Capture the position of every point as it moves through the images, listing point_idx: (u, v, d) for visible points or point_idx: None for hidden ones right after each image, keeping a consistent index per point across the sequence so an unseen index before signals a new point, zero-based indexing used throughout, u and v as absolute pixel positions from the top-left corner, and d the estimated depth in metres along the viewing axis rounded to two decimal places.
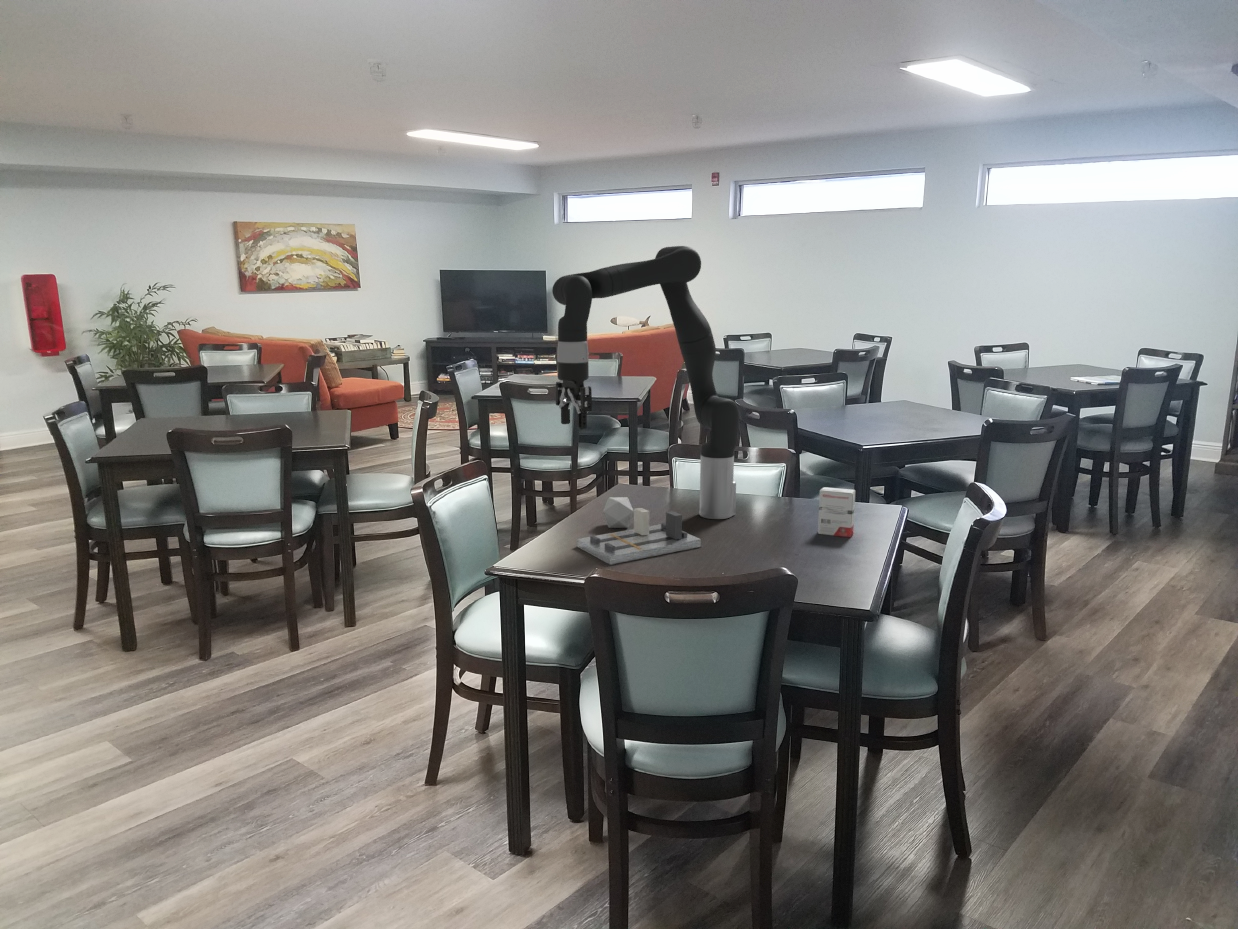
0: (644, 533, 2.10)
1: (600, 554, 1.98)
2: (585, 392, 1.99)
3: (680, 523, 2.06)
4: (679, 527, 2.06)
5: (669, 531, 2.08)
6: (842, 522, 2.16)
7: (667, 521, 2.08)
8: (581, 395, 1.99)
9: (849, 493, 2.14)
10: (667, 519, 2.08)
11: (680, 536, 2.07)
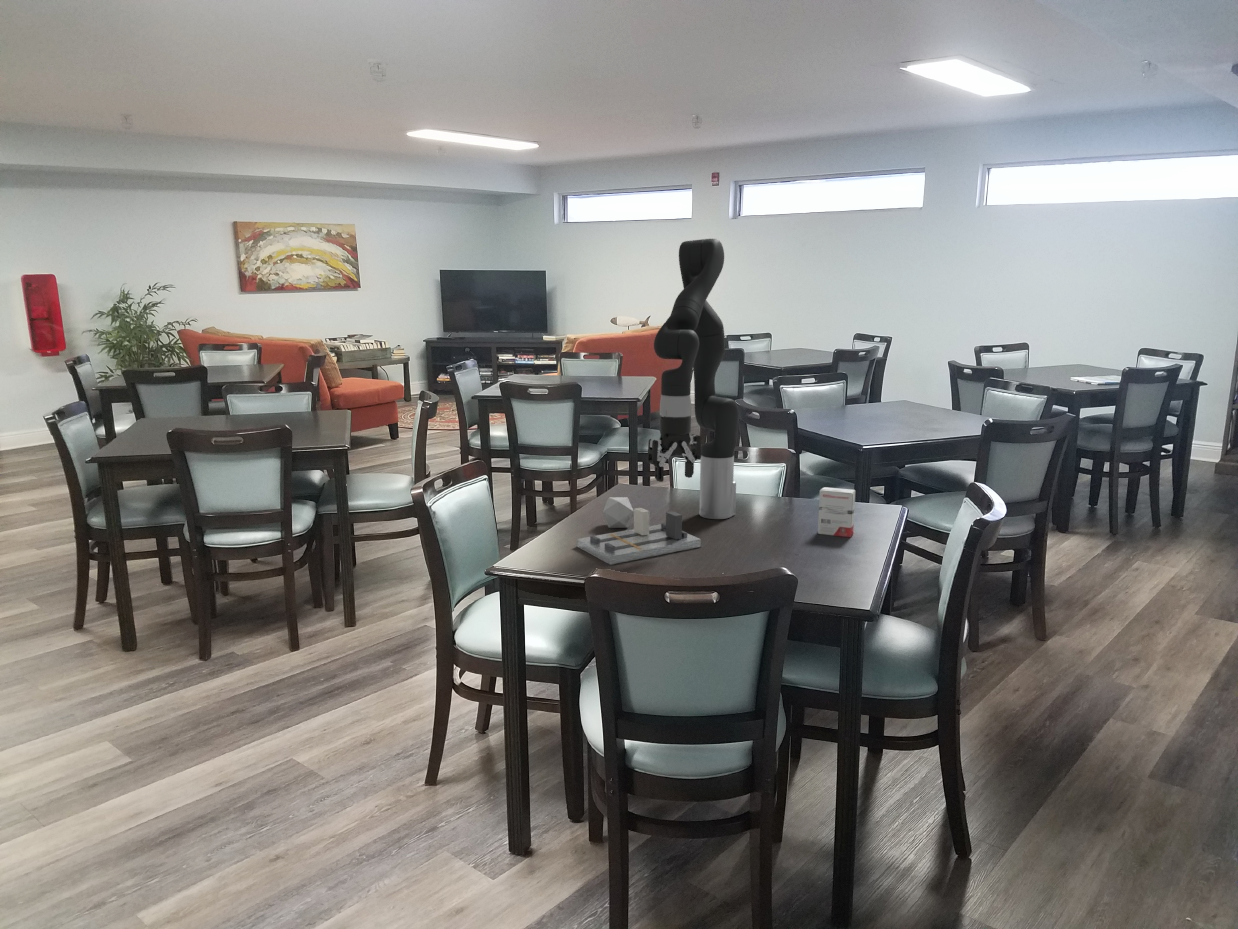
0: (644, 533, 2.10)
1: (600, 554, 1.98)
2: None
3: (680, 523, 2.06)
4: (679, 527, 2.06)
5: (669, 531, 2.08)
6: (842, 522, 2.16)
7: (667, 521, 2.08)
8: (698, 443, 2.06)
9: (849, 493, 2.14)
10: (667, 519, 2.08)
11: (680, 536, 2.07)
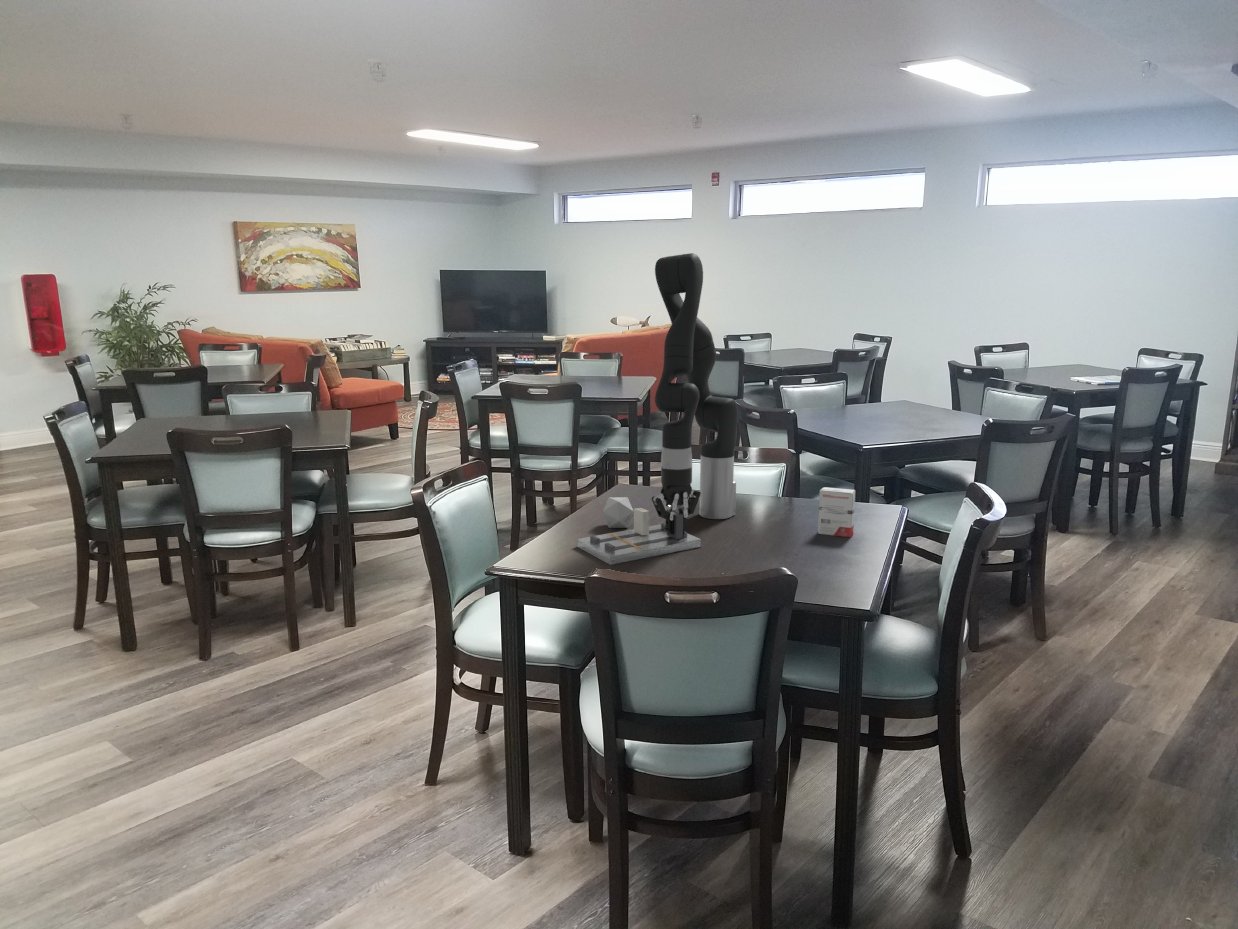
0: (644, 533, 2.10)
1: (600, 554, 1.98)
2: None
3: (681, 523, 2.07)
4: (680, 527, 2.07)
5: None
6: (842, 522, 2.16)
7: None
8: (696, 499, 2.09)
9: (849, 493, 2.14)
10: None
11: (681, 536, 2.07)
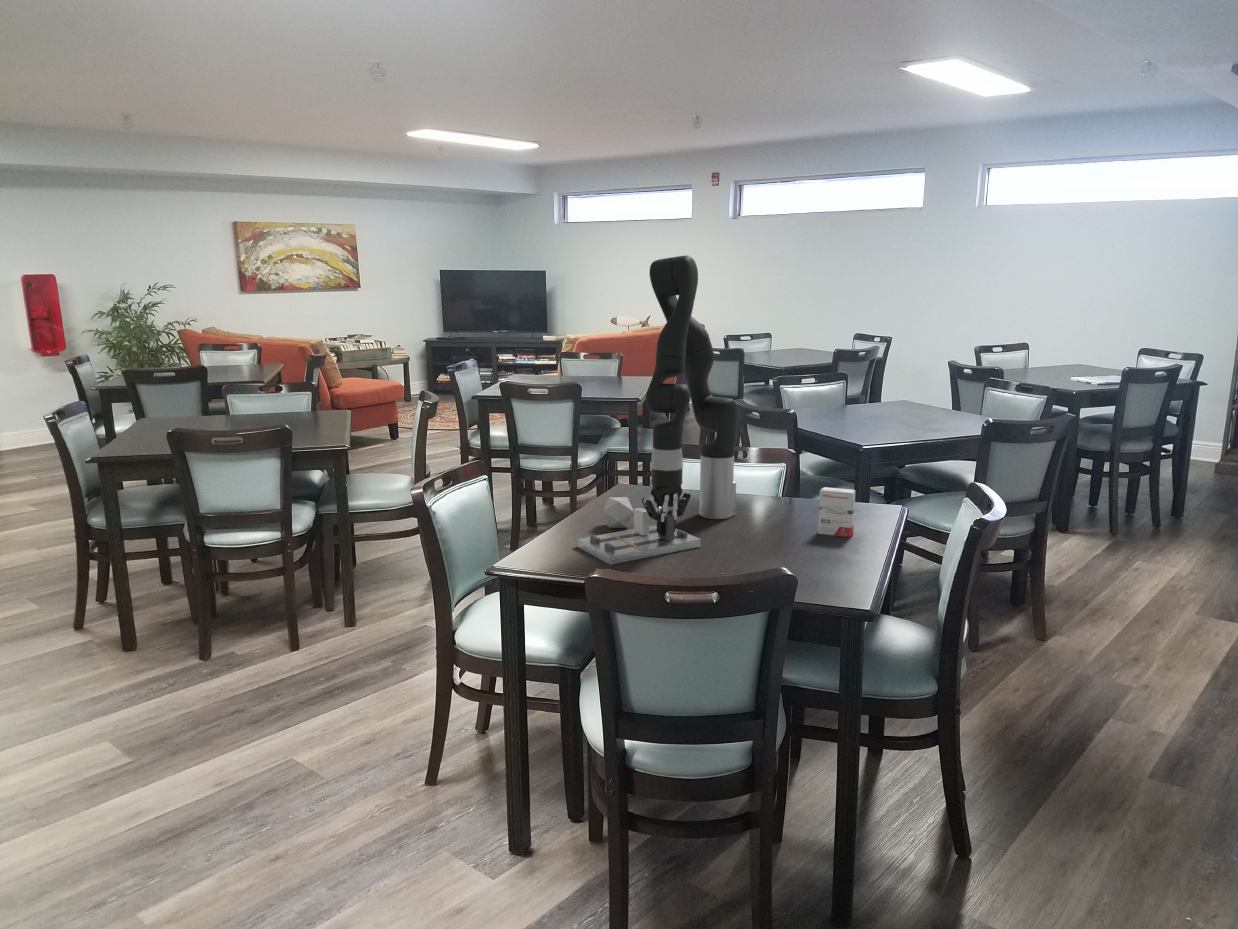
0: (644, 533, 2.10)
1: (600, 554, 1.98)
2: None
3: (672, 524, 2.05)
4: (671, 528, 2.05)
5: None
6: (842, 522, 2.16)
7: None
8: (686, 501, 2.07)
9: (849, 493, 2.14)
10: None
11: (672, 537, 2.06)
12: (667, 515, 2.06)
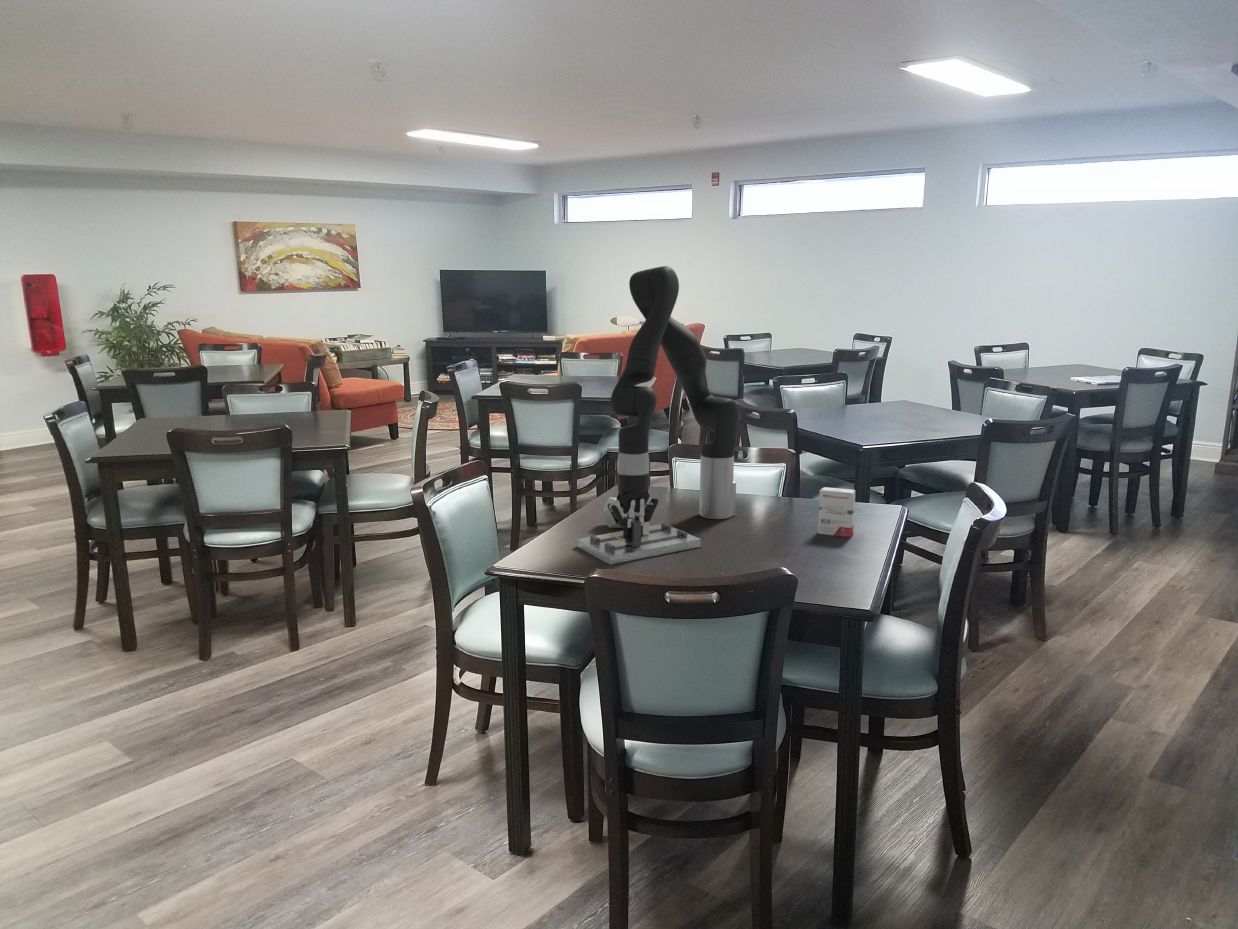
0: (644, 533, 2.10)
1: (600, 554, 1.98)
2: None
3: (639, 530, 2.00)
4: (638, 534, 2.00)
5: None
6: (842, 522, 2.16)
7: None
8: (653, 506, 2.02)
9: (849, 493, 2.14)
10: None
11: (639, 544, 2.01)
12: (634, 521, 2.01)
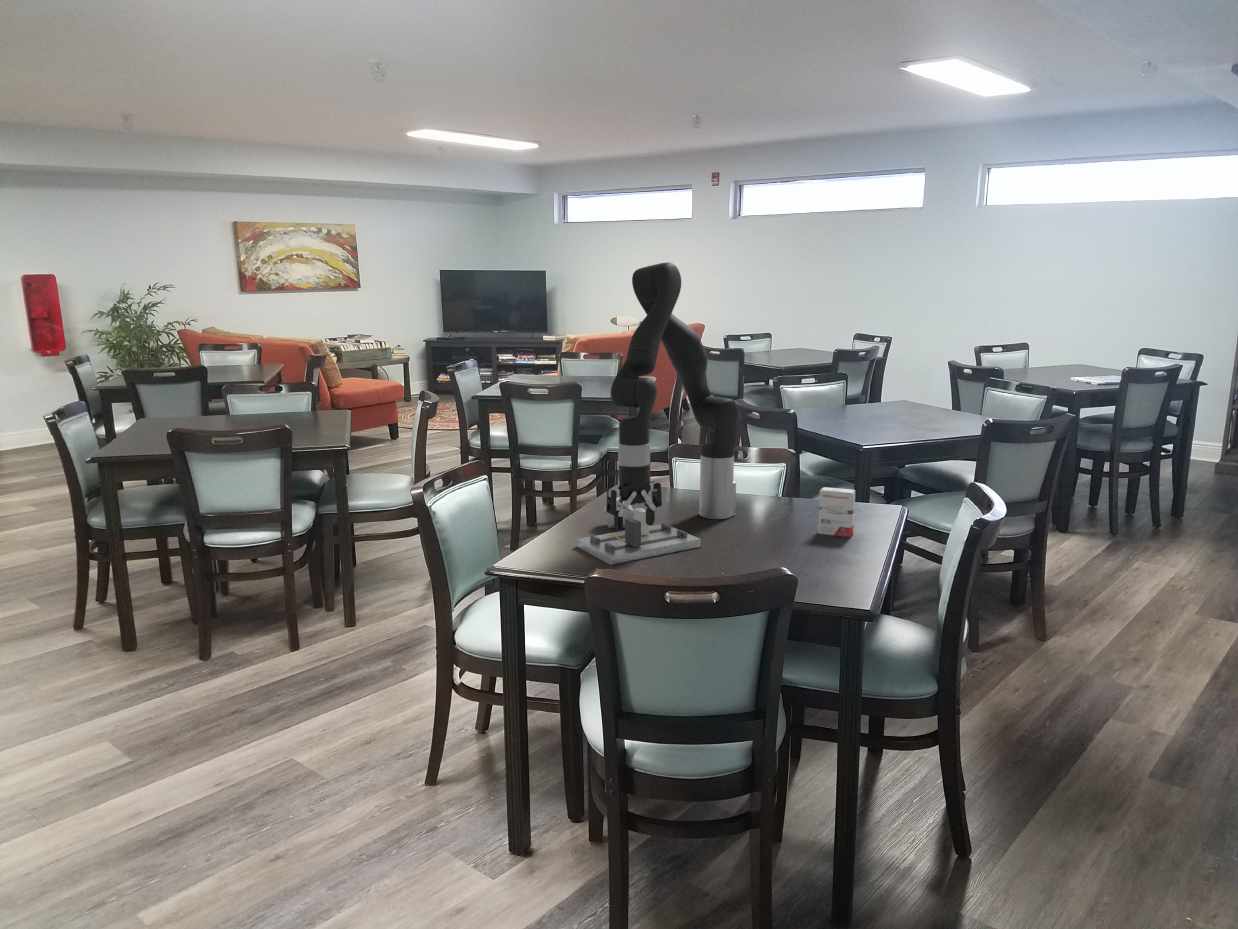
0: (644, 533, 2.10)
1: (600, 554, 1.98)
2: None
3: (639, 530, 2.00)
4: (638, 534, 2.00)
5: (628, 538, 2.02)
6: (842, 522, 2.16)
7: (626, 528, 2.02)
8: (659, 491, 2.02)
9: (849, 493, 2.14)
10: (626, 526, 2.02)
11: (639, 544, 2.01)
12: (634, 521, 2.01)
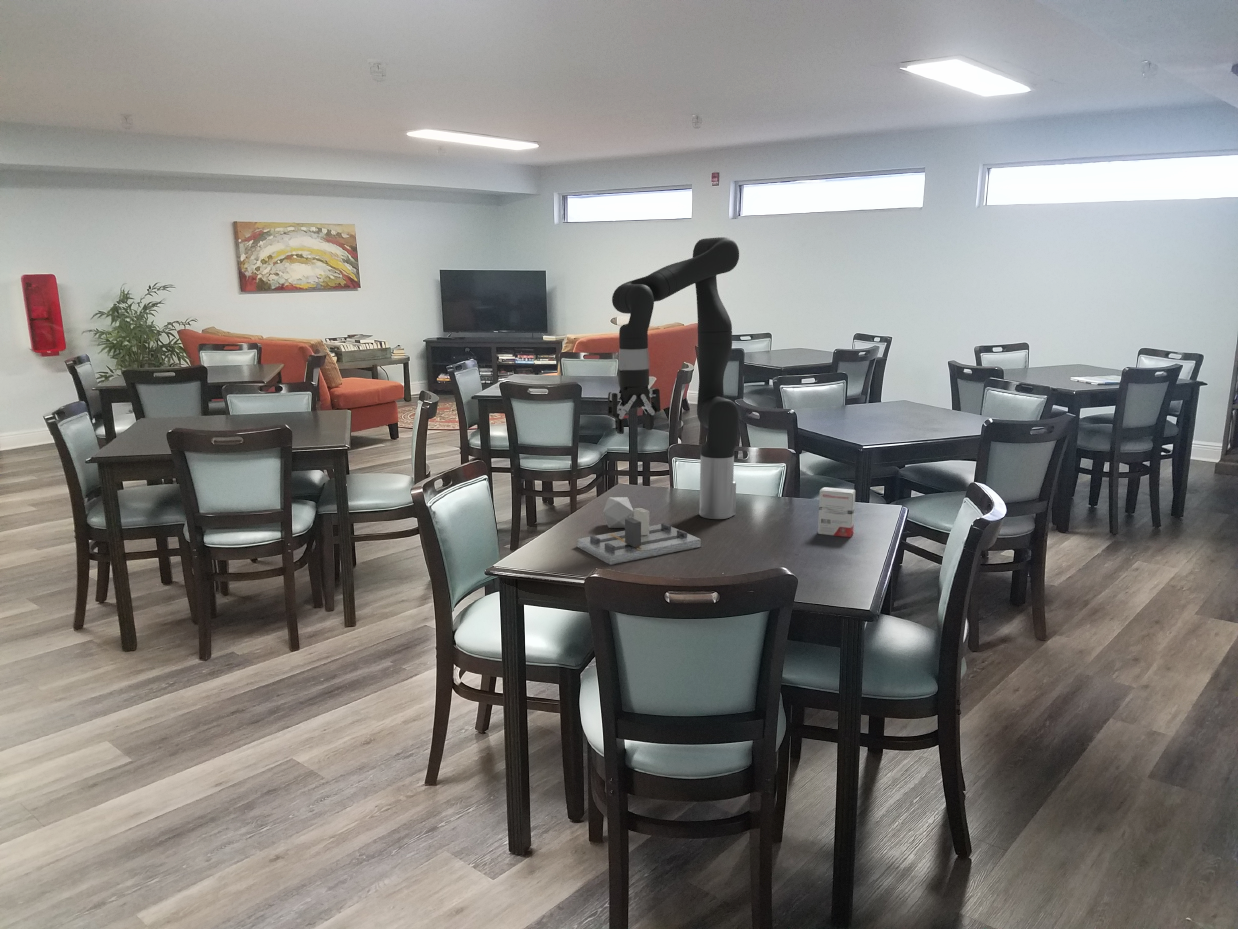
0: (644, 533, 2.10)
1: (600, 554, 1.98)
2: None
3: (639, 530, 2.00)
4: (638, 534, 2.00)
5: (628, 538, 2.02)
6: (842, 522, 2.16)
7: (626, 528, 2.02)
8: (657, 396, 2.11)
9: (849, 493, 2.14)
10: (626, 526, 2.02)
11: (639, 544, 2.01)
12: (634, 521, 2.01)
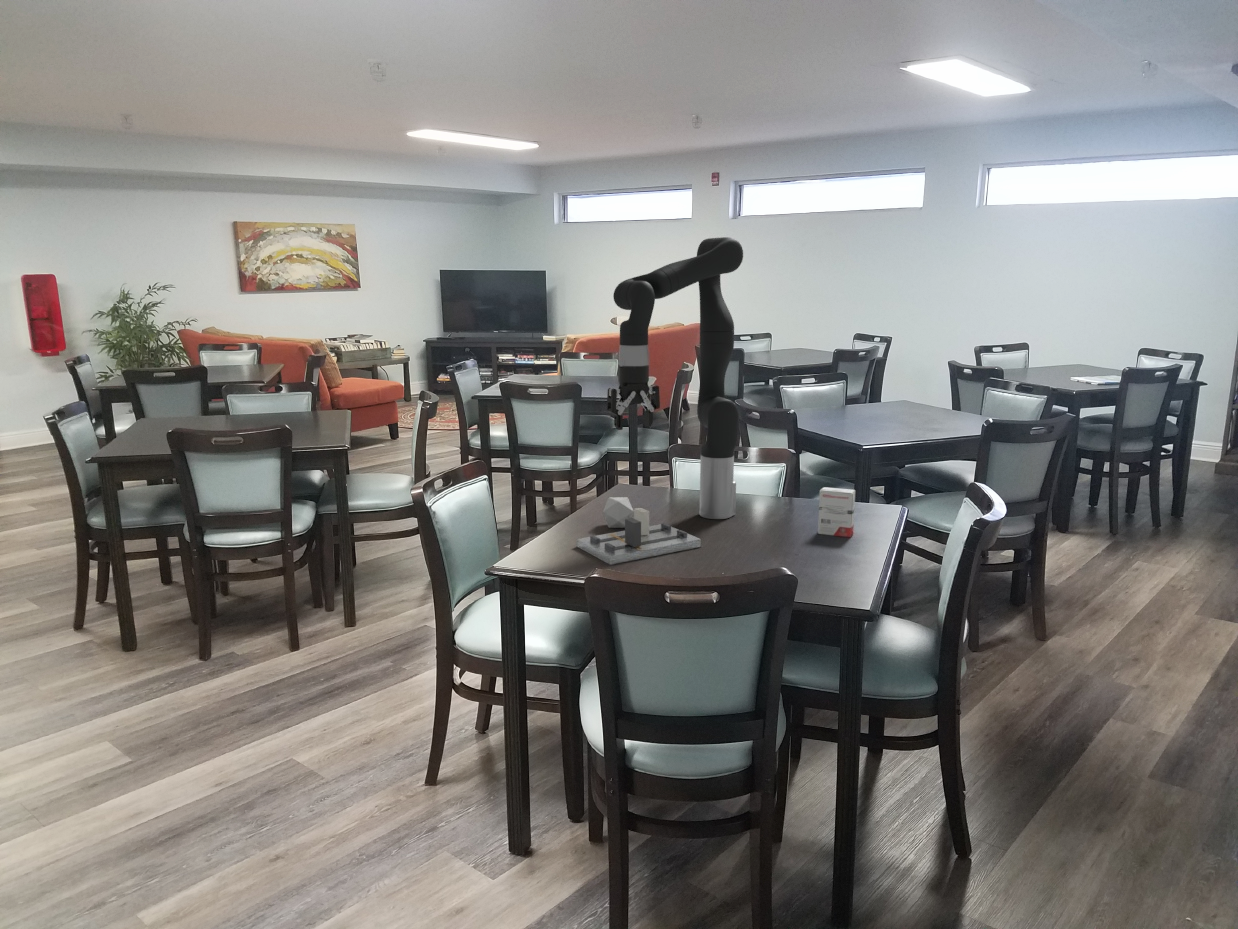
0: (644, 533, 2.10)
1: (600, 554, 1.98)
2: None
3: (639, 530, 2.00)
4: (638, 534, 2.00)
5: (628, 538, 2.02)
6: (842, 522, 2.16)
7: (626, 528, 2.02)
8: (657, 393, 2.12)
9: (849, 493, 2.14)
10: (626, 526, 2.02)
11: (639, 544, 2.01)
12: (634, 521, 2.01)
